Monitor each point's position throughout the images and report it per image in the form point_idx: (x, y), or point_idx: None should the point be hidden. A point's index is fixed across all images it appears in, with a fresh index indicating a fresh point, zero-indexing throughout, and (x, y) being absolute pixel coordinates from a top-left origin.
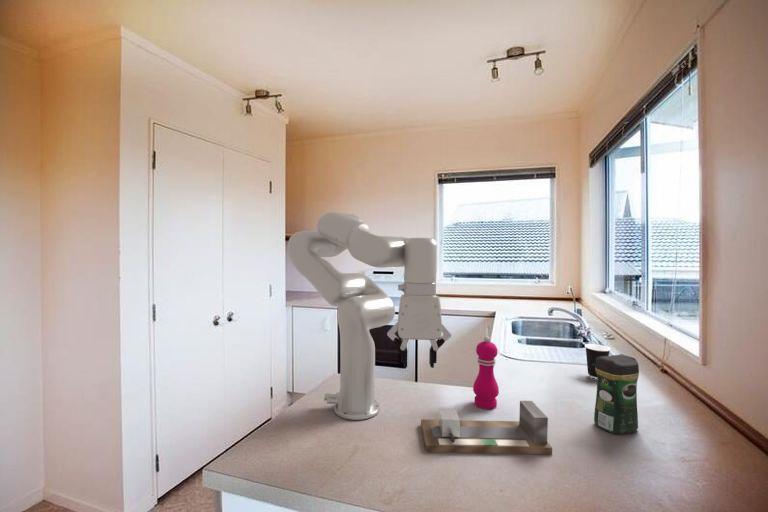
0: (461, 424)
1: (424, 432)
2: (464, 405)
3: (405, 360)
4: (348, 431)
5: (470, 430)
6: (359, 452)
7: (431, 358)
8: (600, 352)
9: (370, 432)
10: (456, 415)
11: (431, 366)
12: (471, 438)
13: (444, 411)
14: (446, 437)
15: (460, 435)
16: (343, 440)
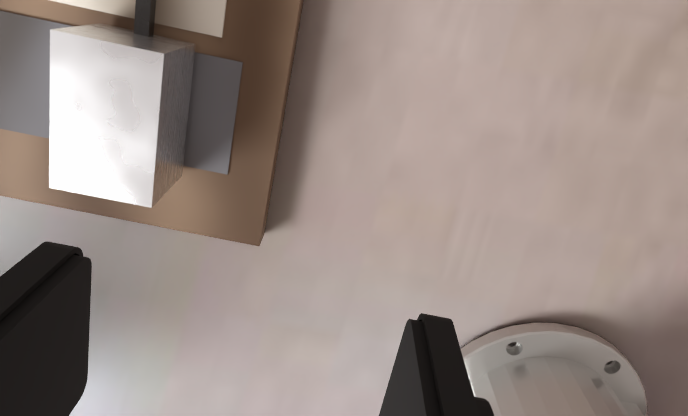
0: None
1: (276, 117)
2: None
3: (449, 371)
4: (624, 237)
5: (23, 92)
6: (631, 45)
7: (9, 320)
8: None
9: (524, 211)
10: (59, 92)
11: (75, 257)
12: (37, 12)
13: (125, 158)
14: None
15: None
16: (672, 164)
